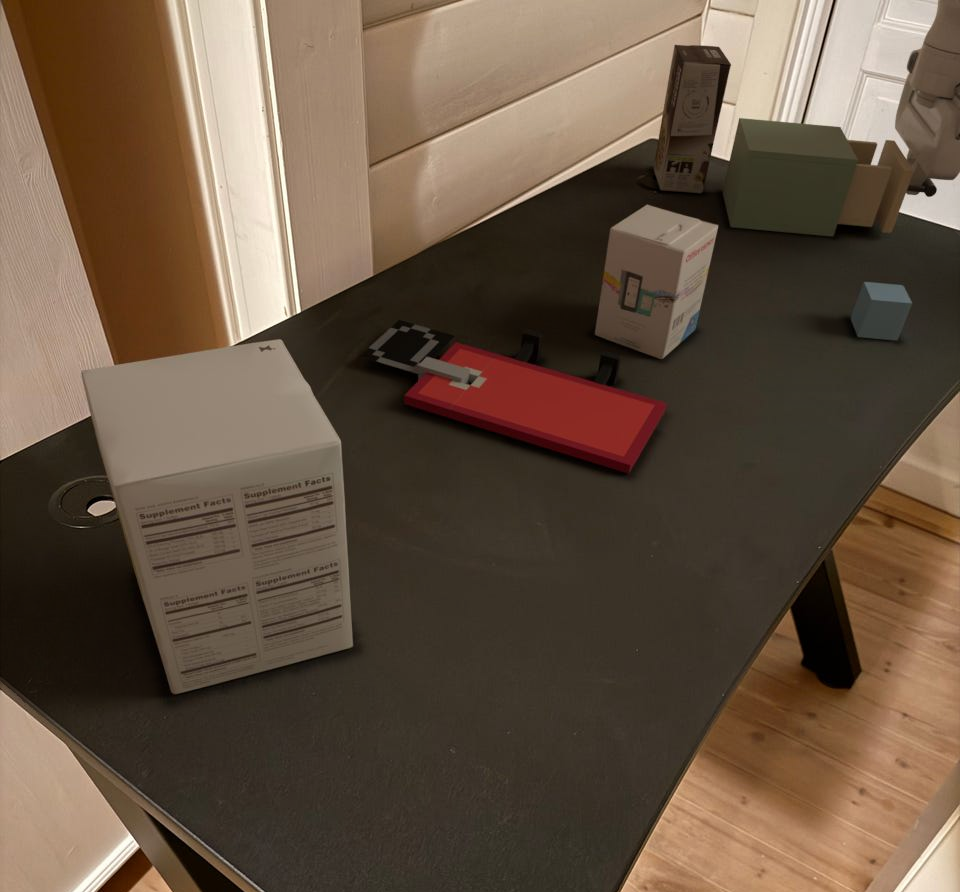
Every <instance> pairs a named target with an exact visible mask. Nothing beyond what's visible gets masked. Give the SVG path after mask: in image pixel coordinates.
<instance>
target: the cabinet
mask: <svg viewBox="0 0 960 892" xmlns="http://www.w3.org/2000/svg"><path fill="white" fill-rule="evenodd" d="M848 140H849V139H847V136H846V135H845V133H844V131H843V129H842V127H841V126H833V125H823V124H811V123H800V122H788V121H777V120H765V119H756V118H755V119H754V118H745V117H739V118H738V122H737V126H736V131H735V135H734V138H733V142H732V143H733V144H732V148H731V152H730V157H729V162H728V165H727V169H726V175H725V178H724V183H723V187H722V191H721V192H722V197H723V200H724V205H725V209H726V214H727V219H728V222H729V227H730V228H734V229H735V228H736V229H746V230H755V231H768V232H778V233H790V234H799V235H800V234H801V235H811V236H821V237H834V236H835V233H836V229H837V227H838V225H839V224H838V221H839V218H840V214H841V211H842V208H843V205H844V202H845V199H846V196H847V193H848V189H849V186H850V183H851V180H852V177H853V174H854V171H855V168H856V164H857V161H858V159H857V157H856V155H855V153H854V151H853V150H852V148H851V146H850V144H849V142H848Z"/></svg>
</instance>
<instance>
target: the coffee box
mask: <svg viewBox="0 0 960 892" xmlns="http://www.w3.org/2000/svg"><path fill="white" fill-rule="evenodd" d="M672 52H673V53H672V58H671V64H670V68H669V75H668V80H667V85H666V92H665V98H664V104H663V109H662V110H663V111H662V115H661V123H660V127H659V128H660V129H659V134H658V140H657V146H656V150H655V158H654V164H653V172H654V175H655V178H656V181H657V184H658V187H659V190H660V191H663V192H664V191H665V192H680V193H693V194H702V193H703V192H704V189H705V184H706V180H707V176H708V170H709V166H710V163H711V162H710V161H711V157H712V152H713V147H714V142H715V138H716V133H717V129H718V125H719V119H720V116H721V111H722V107H723V102H724V98H725V93H726V89H727V86H728V85H727V84H728V80H729V75H730V70H731V67H732V64H731V62H730V60H729V59H728V57H727V56H726V55H725V53H724V52H723V50H722V48H721V47H720V46H714V45H701V44H700V45H697V44H695V45H694V44H691V45H684V44H674V46H673V51H672Z"/></svg>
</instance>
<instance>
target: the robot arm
mask: <svg viewBox="0 0 960 892" xmlns="http://www.w3.org/2000/svg"><path fill="white" fill-rule="evenodd" d="M906 70H907V72H908V74H907V76H906V78H905V81H904V84H903V88H902V91H901V95H900V99H899V101H898V106H897V109H896V114H895V120H894V129H895V131H896V132H897V134H898V135H899V137H900V138H901V140H902V141H903V143H904V145H906V147H907V148H908V151H907V154H906V159H907V161H908V163H909V164H910V166H911V167H912V169H913V170H914V172H913V175H912V178H911V180H910V183H909V185H914V186H922V184H923V182H924V181H925V180H926V178H927V177H928V178H930V179H931V180H943V181H954V180H955V179H956V178H957V177H958V175H959V174H960V0H937V7H936V14H935V17H934V20H933V22H932V24H931V26H930V28H929V30H928V31H927V33H926V35H925V37H924V39H923V43H922V45H921V47H920V48H918V49H915V50H912V51H911V52H910V55H909V58H908V60H907V63H906ZM919 194H920V192H912V191H906V195H908V196H909V195H910V196H917V195H919Z"/></svg>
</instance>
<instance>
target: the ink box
mask: <svg viewBox="0 0 960 892" xmlns="http://www.w3.org/2000/svg"><path fill="white" fill-rule="evenodd" d="M718 230H719V224H716V223H712V222H708V221H705V220H701V219H699V218H695V217H692V216H687V215H684V214H681V213H677V212H674V211H671V210H667V209H663V208H660V207H657V206H654V205H650V204H645V205H644V206H643V207H641V208H640V209H638V210H636V211H635V212H633V213H631V214H630V215H629V216H627V217H626V218H624V219H623V220H621V221H619V222H618V223H616V224H614V225H613V226H611V227H610V229H609V234H608V243H607V249H606V256H605V263H604V270H603V275H602V277H603V278H602V282H601V283H602V284H601V289H600V290H601V291H600V297H599V303H598V305H599V306H598V310H597V316H596V323H595V329H594V330H595V331H594V335H595V336H597V337H599V338H602V339H605V340H607V341H609V342H613V343H615V344H618V345H620V346H623V347H625V348H629V349H632V350H634V351H637V352H640V353H642V354H645V355H648V356H651V357H653V358H655V359H659V360H663V359H664V358H666V356H668V355H669V354H670V353H671V352H672V351H673V350H674V349H675V348H677V347H678V346H679V345H680V344H681V343H682V342H683V341H685V340H686V339H687V338H688V337H689V336H690V335H691V334H693V333H694V332H695V331H696V330H697V325H698V320H699V316H700V312H701V311H700V310H701V306H702V302H703V299H704V297H703V296H704V294H705V289H706V284H707V279H708V275H709V269H710V265H711V261H712V257H713V252H714V248H715V244H716V243H715V242H716V238H717V234H718Z"/></svg>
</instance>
